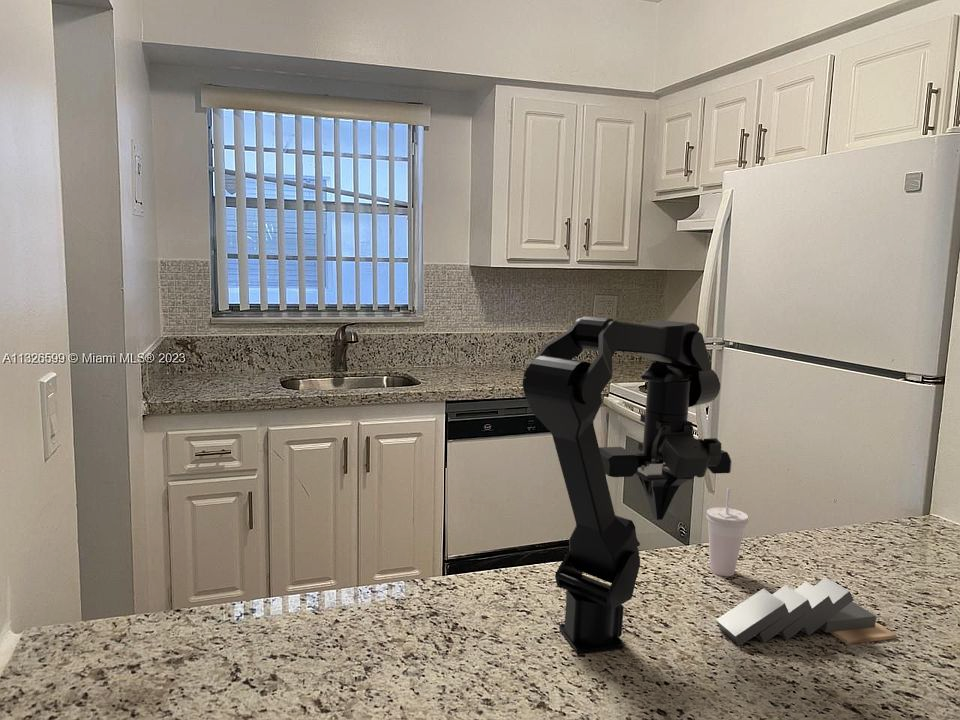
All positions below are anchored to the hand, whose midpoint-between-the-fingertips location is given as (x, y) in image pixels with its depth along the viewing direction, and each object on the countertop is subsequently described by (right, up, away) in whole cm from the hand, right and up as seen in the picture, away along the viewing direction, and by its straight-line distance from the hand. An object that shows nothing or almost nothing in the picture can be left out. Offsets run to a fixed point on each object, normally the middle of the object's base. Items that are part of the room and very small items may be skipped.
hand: (658, 519), depth 103 cm
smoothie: (+14, -12, +14) cm, 23 cm away
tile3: (+14, -13, -6) cm, 20 cm away
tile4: (+17, -13, -5) cm, 22 cm away
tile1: (+7, -13, -8) cm, 17 cm away
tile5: (+20, -13, -4) cm, 24 cm away
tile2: (+11, -13, -7) cm, 18 cm away
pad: (+25, -14, -2) cm, 29 cm away
